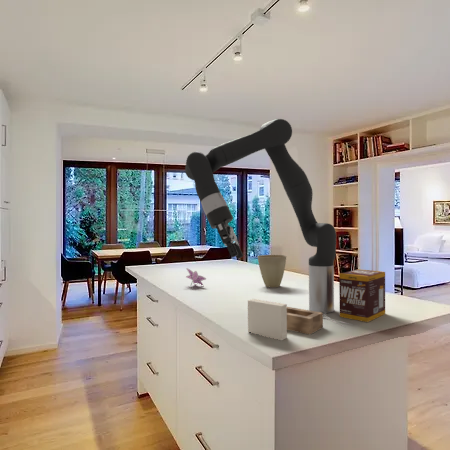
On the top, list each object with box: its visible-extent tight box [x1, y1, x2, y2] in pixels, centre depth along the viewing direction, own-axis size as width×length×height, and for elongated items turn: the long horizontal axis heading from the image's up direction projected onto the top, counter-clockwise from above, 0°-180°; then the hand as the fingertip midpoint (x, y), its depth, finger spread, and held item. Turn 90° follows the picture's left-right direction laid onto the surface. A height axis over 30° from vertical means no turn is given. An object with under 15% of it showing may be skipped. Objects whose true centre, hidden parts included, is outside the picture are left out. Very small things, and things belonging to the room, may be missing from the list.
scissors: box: [323, 313, 354, 328], centre depth 125 cm, size 11×1×20 cm
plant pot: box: [257, 254, 287, 288], centre depth 187 cm, size 15×15×16 cm
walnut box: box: [287, 306, 324, 335], centre depth 118 cm, size 20×9×5 cm, turn 50°
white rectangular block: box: [247, 298, 288, 341], centre depth 109 cm, size 12×3×10 cm, turn 50°
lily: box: [185, 267, 207, 286], centre depth 189 cm, size 12×12×10 cm
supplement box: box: [338, 268, 386, 323], centre depth 129 cm, size 10×15×16 cm
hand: (237, 257), depth 110 cm, fingers open, 8 cm apart
